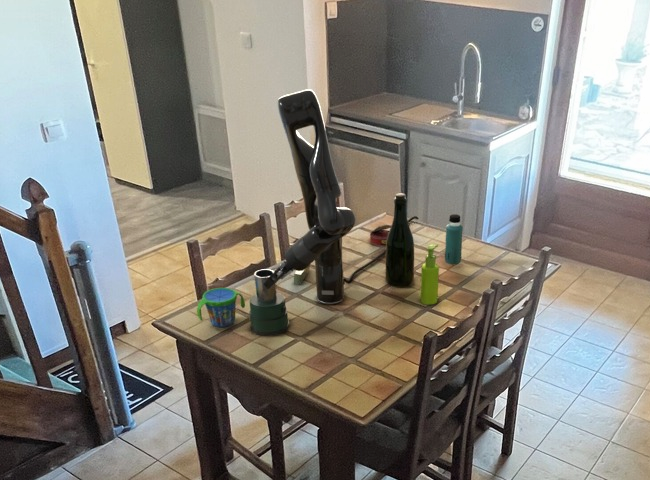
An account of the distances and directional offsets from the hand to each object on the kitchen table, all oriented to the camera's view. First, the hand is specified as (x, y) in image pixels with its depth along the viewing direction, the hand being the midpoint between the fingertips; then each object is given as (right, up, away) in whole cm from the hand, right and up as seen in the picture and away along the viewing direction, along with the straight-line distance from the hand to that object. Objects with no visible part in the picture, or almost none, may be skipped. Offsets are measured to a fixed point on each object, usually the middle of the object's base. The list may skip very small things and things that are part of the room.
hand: (273, 280), depth 212 cm
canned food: (+30, +24, +71) cm, 81 cm away
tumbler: (-3, -5, +5) cm, 8 cm away
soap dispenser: (+49, -4, +28) cm, 56 cm away
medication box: (+2, +6, +41) cm, 41 cm away
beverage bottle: (+58, +12, +53) cm, 80 cm away
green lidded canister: (-3, -14, +10) cm, 17 cm away
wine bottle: (+38, +4, +40) cm, 55 cm away
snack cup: (-19, -12, +12) cm, 25 cm away
